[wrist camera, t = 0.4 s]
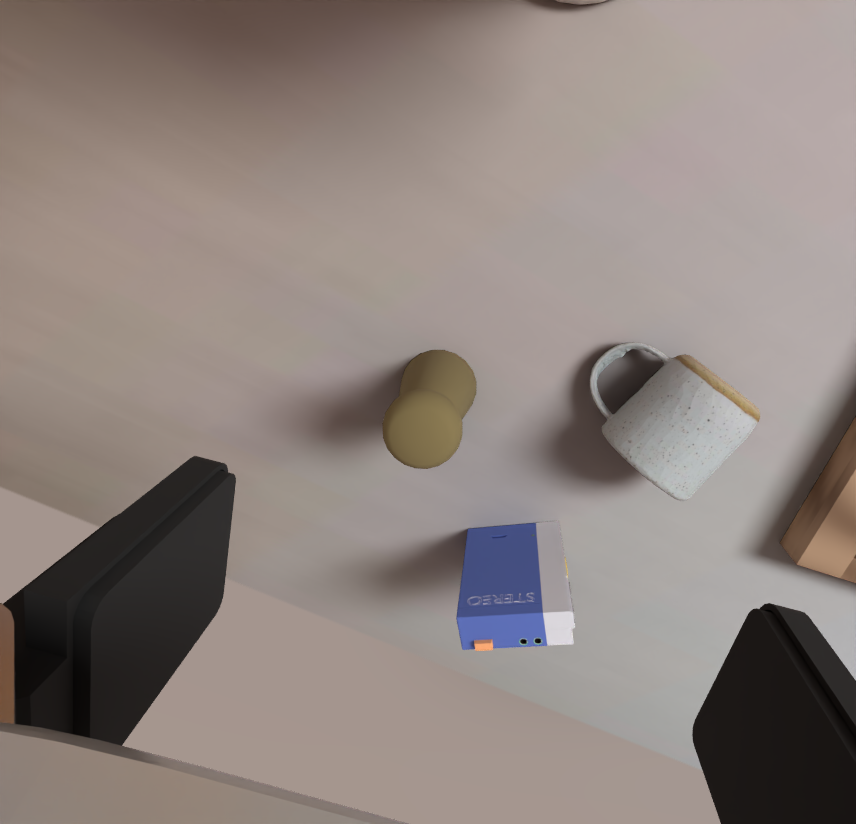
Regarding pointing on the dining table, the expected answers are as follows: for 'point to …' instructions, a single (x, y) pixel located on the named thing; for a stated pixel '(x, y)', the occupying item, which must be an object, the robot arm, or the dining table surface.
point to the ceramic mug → (676, 422)
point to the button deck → (829, 517)
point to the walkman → (515, 588)
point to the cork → (429, 409)
